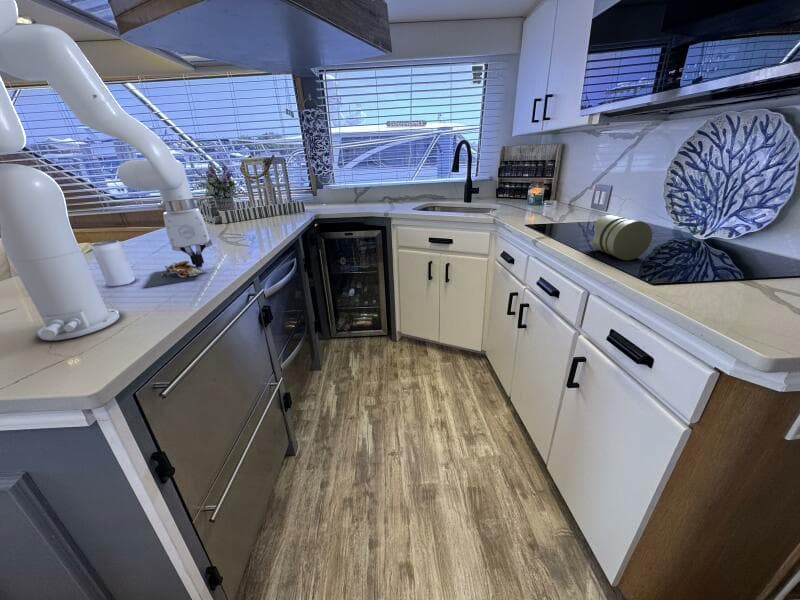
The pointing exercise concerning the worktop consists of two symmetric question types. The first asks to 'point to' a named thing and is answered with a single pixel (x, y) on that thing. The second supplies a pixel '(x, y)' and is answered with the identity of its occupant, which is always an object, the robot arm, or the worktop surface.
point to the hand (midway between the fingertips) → (199, 266)
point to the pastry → (182, 269)
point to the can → (113, 263)
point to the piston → (621, 237)
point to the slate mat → (167, 279)
